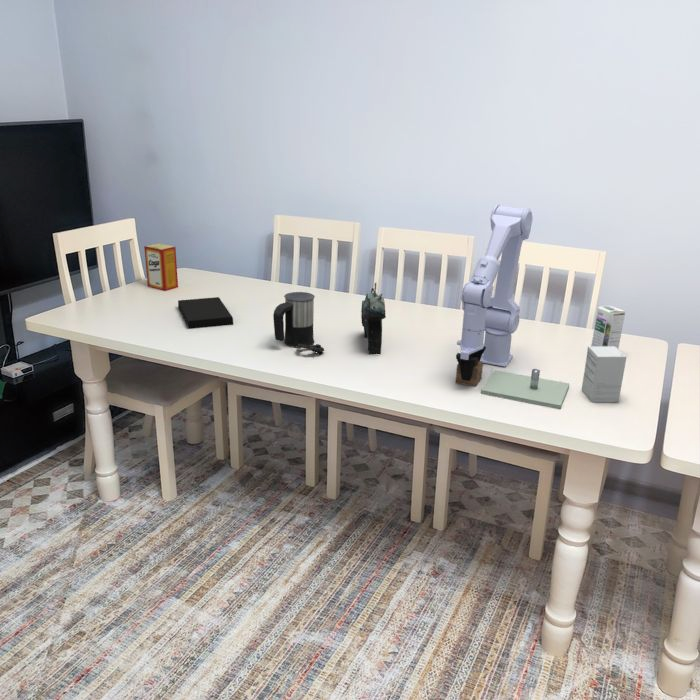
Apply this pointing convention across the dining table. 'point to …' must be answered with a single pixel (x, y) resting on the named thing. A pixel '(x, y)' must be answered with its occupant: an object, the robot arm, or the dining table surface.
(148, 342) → the dining table surface
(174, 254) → the baking soda box
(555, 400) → the sage board
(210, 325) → the external hard drive
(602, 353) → the supplement box
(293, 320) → the milk frother
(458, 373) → the walnut collar
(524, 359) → the dining table surface
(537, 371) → the grey steel post
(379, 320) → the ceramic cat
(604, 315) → the syrup box
